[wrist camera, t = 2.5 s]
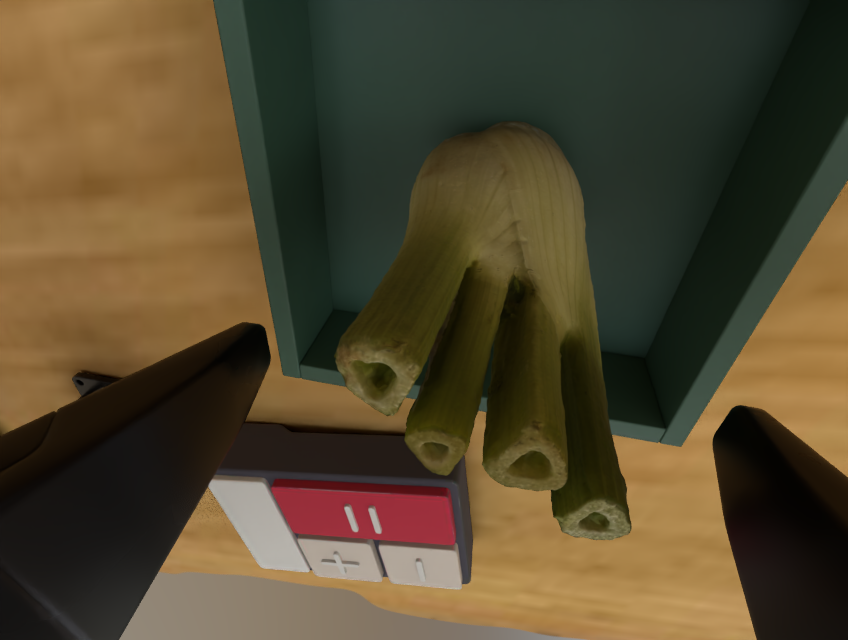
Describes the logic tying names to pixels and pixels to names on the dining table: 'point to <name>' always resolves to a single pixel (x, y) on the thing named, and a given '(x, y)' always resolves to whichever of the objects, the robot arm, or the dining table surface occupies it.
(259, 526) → the calculator
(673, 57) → the tote
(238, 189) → the dining table surface
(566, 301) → the fennel bulb
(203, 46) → the dining table surface
